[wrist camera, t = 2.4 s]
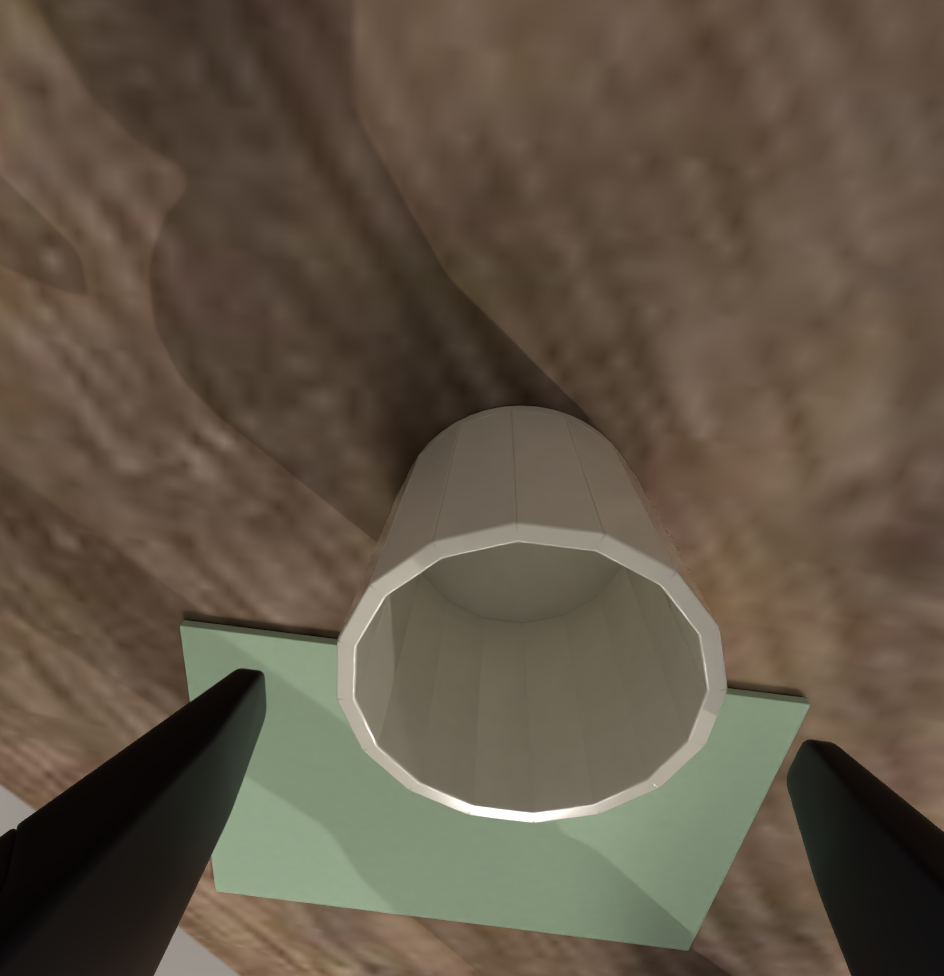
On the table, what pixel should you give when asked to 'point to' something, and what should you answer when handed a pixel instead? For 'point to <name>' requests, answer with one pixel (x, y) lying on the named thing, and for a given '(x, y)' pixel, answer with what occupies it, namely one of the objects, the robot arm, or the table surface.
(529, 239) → the table surface
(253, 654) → the felt mat
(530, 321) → the table surface
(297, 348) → the table surface
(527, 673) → the cup
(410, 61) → the table surface
